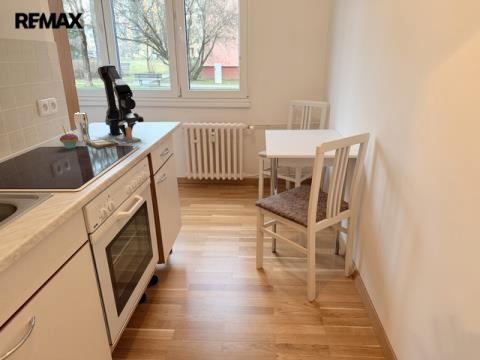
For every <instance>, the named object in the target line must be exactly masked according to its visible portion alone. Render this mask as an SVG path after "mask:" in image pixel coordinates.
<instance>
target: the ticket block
mask: <svg viewBox="0 0 480 360" xmlns="http://www.w3.org/2000/svg"><path fill="white" fill-rule="evenodd" d="M85 145H87V146H89V147H91V148H94V149H96V150H101V149H100V148H103V149H106V148H105V147H108V148H115V147H119V145H120V143H119V142H117V141H116V140H112V139H109V138H99V139H92V140H87V141H85Z"/></svg>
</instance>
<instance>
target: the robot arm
mask: <svg viewBox="0 0 480 360" xmlns="http://www.w3.org/2000/svg"><path fill="white" fill-rule="evenodd" d="M116 68H117V67H116V65H114V64H106V65H100V66H99V67H98V68H97V74H98V75H99V79H100V80H101V81H102V82H103V84H104V91H105V92H104V93H105V97H106V102H107V110H106V114H105V121H104V123H105V125H106V126H109V132H108V135H110V136H121V135H123V134H124V136H125V137H126V132H125V126H127V127H130V128H131V131H132V132H133V128H134V126H135V125H137V123H144V117H143V116H141V115H140V114H139V113H138V112H134V113H132V112H133V111H132V110H134V109H135V108H136V103H137V102H136V101H135V99H133V95H134V94H133V91H132V89H131V87H130V86H129V84H128V83H127V81H125V80H123V79H122V78H121V75H120V74H119V72H118V70H117V69H116ZM116 98H117V102H116ZM117 103H118V104H117ZM117 106H118V107H117ZM136 122H137V123H136ZM125 123H126V124H127V125H126V124H125Z"/></svg>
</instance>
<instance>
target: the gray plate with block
mask: <svg viewBox="0 0 480 360" xmlns="http://www.w3.org/2000/svg"><path fill="white" fill-rule="evenodd" d="M125 132H126V137H125V136H124V134H122V135H117V136H115V141H119V142H122V143H124V144H128V145H130V144H136V143H141V142H142V139H141V138H138V137H137V136H136V137H135V136H133V130H132V131H131V128H130V127H128V125H125Z"/></svg>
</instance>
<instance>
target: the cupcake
mask: <svg viewBox="0 0 480 360" xmlns="http://www.w3.org/2000/svg"><path fill="white" fill-rule="evenodd" d="M61 127H62V130H63V133H64V134H63V135H61V136H60V138H59V142H60V143H62V144H63V146H64V148H65V149H66V150H67V149H69V150H71V149H74V148H76V147H77V142H78V141H79V135H76V134H75V133H67V132H66V130H65V126H63V124H61Z"/></svg>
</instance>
